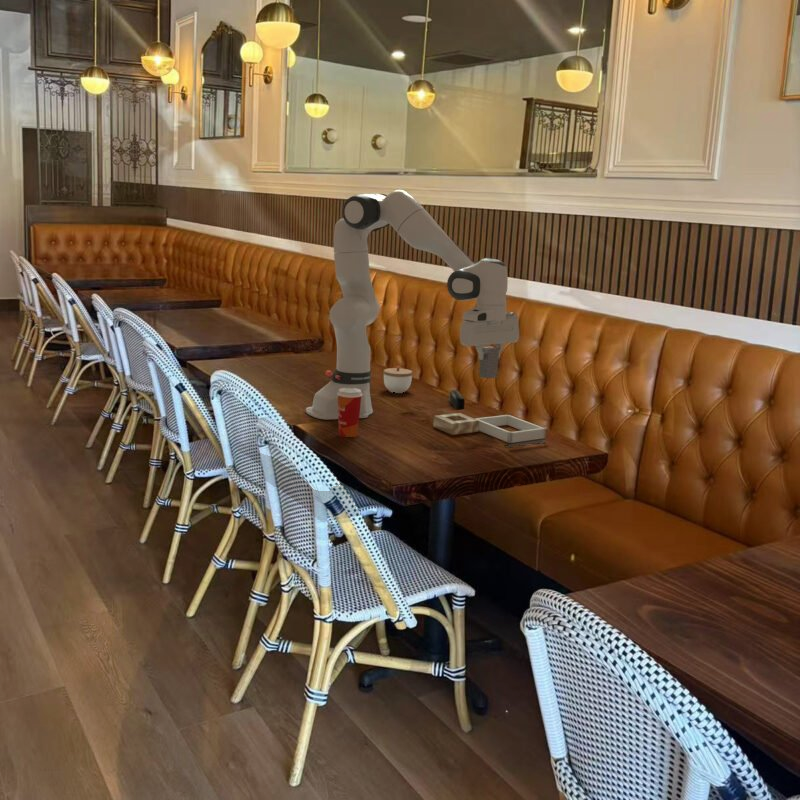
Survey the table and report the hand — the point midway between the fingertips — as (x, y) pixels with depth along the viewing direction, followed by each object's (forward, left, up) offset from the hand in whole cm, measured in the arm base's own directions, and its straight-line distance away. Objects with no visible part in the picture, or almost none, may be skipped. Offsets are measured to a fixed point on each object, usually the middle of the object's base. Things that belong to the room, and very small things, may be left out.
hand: (489, 358), depth 265 cm
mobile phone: (+15, +36, -25) cm, 46 cm away
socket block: (-7, +6, -24) cm, 26 cm away
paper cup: (-39, +17, -25) cm, 49 cm away
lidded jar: (+7, +63, -25) cm, 68 cm away
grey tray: (+6, -4, -24) cm, 26 cm away
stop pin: (0, 0, -6) cm, 6 cm away
